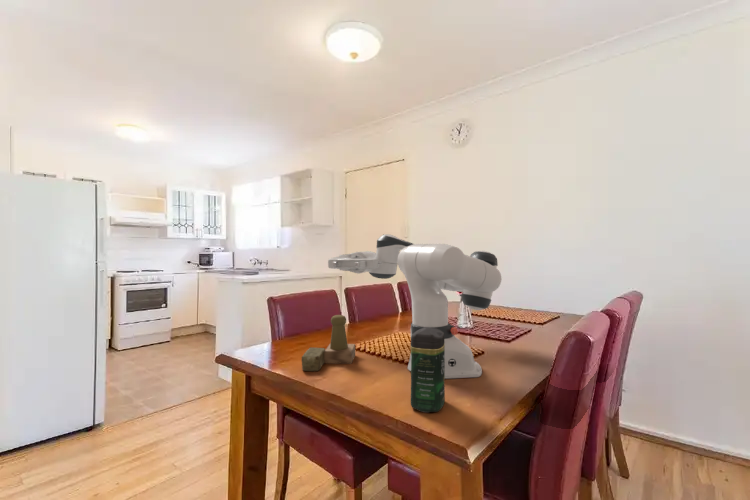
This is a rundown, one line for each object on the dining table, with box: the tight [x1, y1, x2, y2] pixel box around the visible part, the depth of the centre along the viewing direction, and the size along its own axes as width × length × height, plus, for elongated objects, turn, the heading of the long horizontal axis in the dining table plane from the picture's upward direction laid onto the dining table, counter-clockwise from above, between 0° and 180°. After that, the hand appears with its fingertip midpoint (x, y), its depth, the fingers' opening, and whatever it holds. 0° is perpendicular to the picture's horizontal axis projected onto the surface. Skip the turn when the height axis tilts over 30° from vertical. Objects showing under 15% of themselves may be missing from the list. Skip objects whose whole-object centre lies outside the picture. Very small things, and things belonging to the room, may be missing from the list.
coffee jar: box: [410, 327, 446, 413], centre depth 90 cm, size 10×8×19 cm
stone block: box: [301, 347, 326, 372], centre depth 120 cm, size 6×12×5 cm, turn 177°
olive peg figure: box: [329, 314, 348, 350], centre depth 127 cm, size 6×6×11 cm
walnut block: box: [324, 343, 356, 365], centre depth 127 cm, size 9×9×4 cm
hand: (345, 264), depth 139 cm, fingers open, 8 cm apart
